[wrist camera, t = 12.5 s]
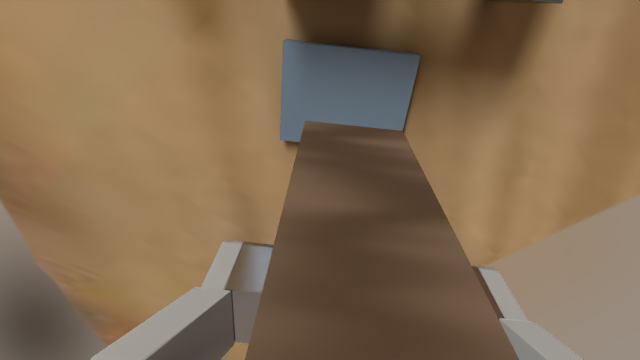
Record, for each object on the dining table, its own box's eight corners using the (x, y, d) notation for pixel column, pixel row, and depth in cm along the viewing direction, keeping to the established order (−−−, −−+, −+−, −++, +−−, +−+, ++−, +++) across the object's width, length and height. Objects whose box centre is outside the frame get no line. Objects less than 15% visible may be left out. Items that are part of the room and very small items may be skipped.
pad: (417, 53, 21) (420, 55, 21) (395, 147, 25) (397, 152, 24) (285, 38, 21) (283, 40, 21) (281, 135, 25) (279, 140, 24)
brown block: (402, 130, 13) (677, 670, 3) (383, 210, 15) (493, 697, 5) (305, 120, 13) (178, 624, 2) (298, 201, 15) (213, 672, 4)
